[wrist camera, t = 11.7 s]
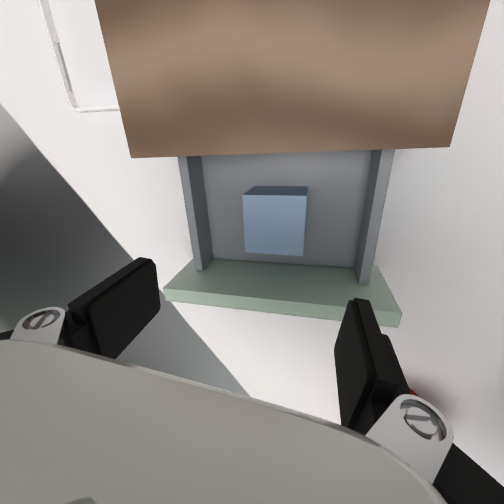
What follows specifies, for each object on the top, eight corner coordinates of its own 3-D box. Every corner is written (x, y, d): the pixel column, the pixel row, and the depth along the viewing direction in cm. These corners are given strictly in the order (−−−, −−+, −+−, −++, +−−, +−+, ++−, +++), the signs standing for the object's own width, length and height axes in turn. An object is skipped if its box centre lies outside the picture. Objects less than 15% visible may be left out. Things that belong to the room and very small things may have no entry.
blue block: (304, 237, 24) (302, 256, 20) (255, 234, 25) (245, 252, 21) (307, 186, 22) (306, 195, 18) (254, 185, 23) (242, 194, 19)
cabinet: (397, 145, 21) (449, 147, 13) (188, 153, 25) (131, 158, 17) (453, -148, 14) (634, -520, 6) (158, -67, 19) (42, -224, 11)
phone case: (137, 109, 25) (95, -110, 19) (128, 107, 24) (80, -127, 18) (81, 113, 27) (25, -88, 20) (69, 111, 25) (6, -103, 19)
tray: (374, 277, 25) (397, 327, 18) (199, 264, 29) (165, 300, 23) (411, 97, 18) (468, 70, 12) (177, 115, 23) (120, 103, 16)
